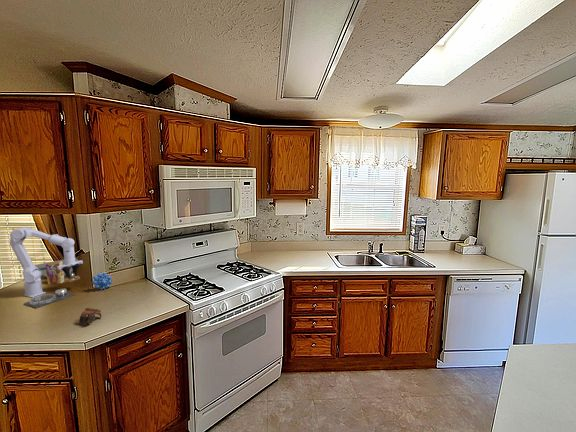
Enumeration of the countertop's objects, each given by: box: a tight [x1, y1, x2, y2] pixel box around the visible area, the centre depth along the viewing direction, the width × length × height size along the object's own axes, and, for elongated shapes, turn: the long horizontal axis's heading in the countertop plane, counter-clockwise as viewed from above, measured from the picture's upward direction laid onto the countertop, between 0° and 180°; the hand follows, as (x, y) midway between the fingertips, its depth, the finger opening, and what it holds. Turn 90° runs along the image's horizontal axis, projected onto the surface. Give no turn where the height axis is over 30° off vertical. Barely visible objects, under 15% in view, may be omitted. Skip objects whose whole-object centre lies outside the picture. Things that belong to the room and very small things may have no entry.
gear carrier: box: [23, 287, 75, 309], centre depth 178 cm, size 13×20×4 cm, turn 157°
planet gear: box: [64, 272, 81, 283], centre depth 193 cm, size 8×8×4 cm
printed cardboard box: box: [34, 257, 79, 278], centre depth 223 cm, size 25×8×11 cm, turn 143°
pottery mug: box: [78, 307, 102, 326], centre depth 151 cm, size 12×10×8 cm
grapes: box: [91, 272, 113, 291], centre depth 193 cm, size 12×7×12 cm, turn 139°
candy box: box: [45, 261, 66, 285], centre depth 207 cm, size 9×4×15 cm, turn 99°
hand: (71, 276), depth 193 cm, fingers closed on planet gear, 4 cm apart
